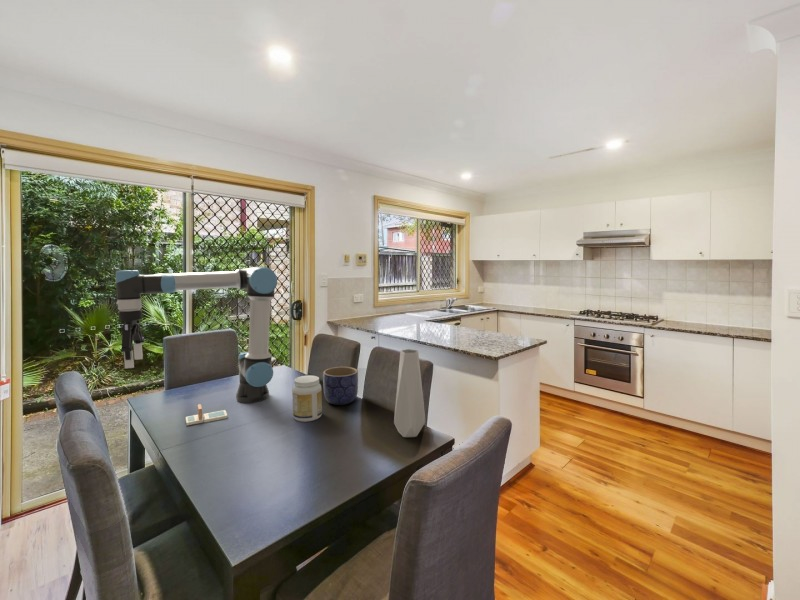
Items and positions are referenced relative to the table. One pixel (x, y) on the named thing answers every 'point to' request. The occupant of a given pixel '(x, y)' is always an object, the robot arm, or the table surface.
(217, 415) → the cream tablet with screen
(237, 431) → the table surface
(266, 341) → the robot arm
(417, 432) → the vase
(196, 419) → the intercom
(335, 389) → the planter
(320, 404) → the supplement tub
